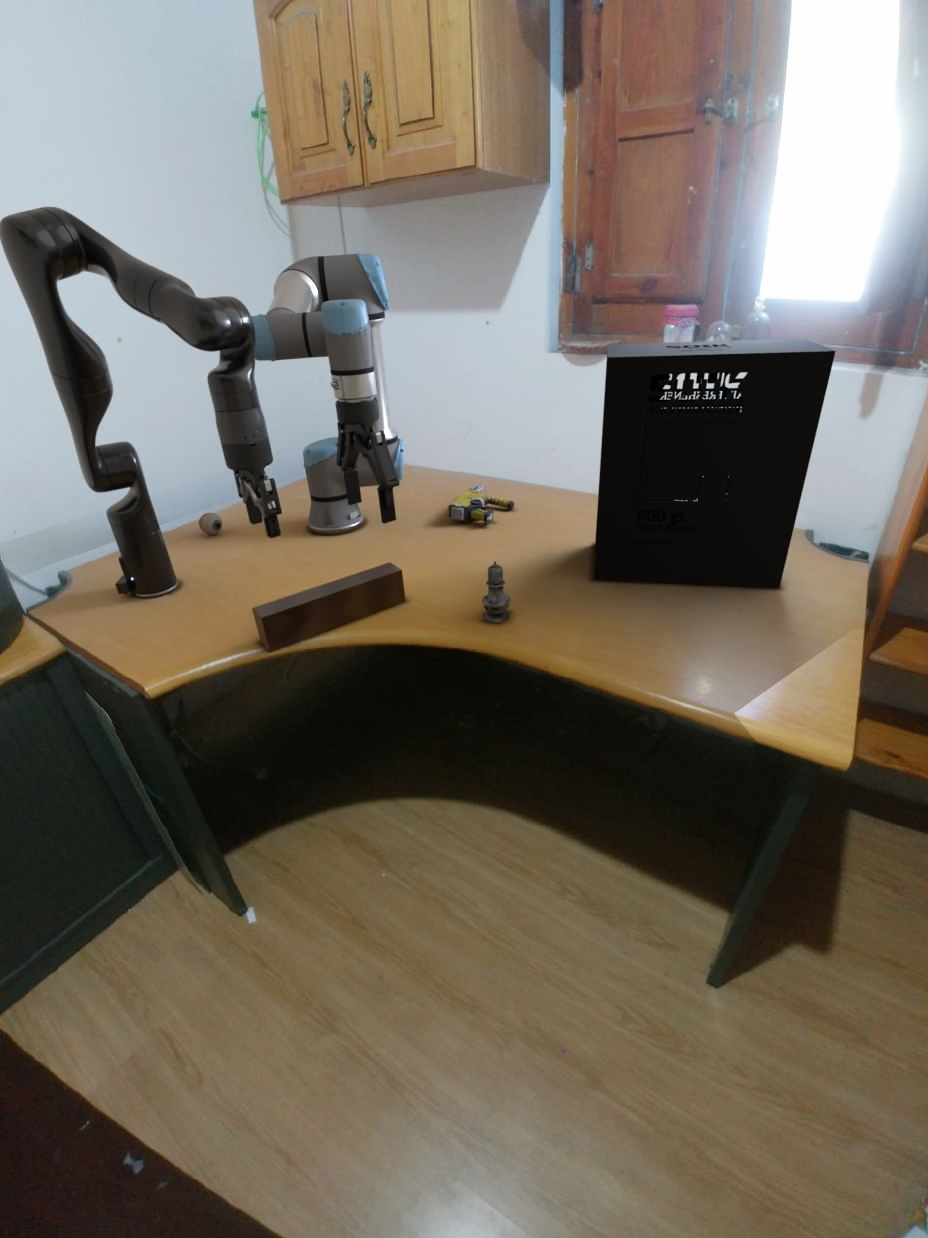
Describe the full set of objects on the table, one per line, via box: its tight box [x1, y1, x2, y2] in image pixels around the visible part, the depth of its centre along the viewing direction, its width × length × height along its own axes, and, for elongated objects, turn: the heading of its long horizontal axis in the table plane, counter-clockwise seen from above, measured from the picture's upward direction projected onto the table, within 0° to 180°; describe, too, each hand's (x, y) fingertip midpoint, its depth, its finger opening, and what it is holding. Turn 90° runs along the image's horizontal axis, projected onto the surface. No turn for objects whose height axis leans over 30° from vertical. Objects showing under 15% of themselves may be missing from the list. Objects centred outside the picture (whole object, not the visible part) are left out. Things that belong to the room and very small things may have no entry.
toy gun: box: [447, 482, 515, 525], centre depth 172 cm, size 5×24×15 cm
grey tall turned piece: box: [480, 560, 512, 623], centre depth 117 cm, size 6×6×12 cm
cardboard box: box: [592, 337, 836, 589], centre depth 125 cm, size 38×20×45 cm, turn 78°
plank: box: [251, 562, 406, 653], centre depth 120 cm, size 30×5×8 cm, turn 127°
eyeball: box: [198, 512, 223, 536], centre depth 167 cm, size 6×6×6 cm
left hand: (265, 529), depth 106 cm, fingers open, 8 cm apart
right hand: (371, 512), depth 117 cm, fingers open, 13 cm apart
